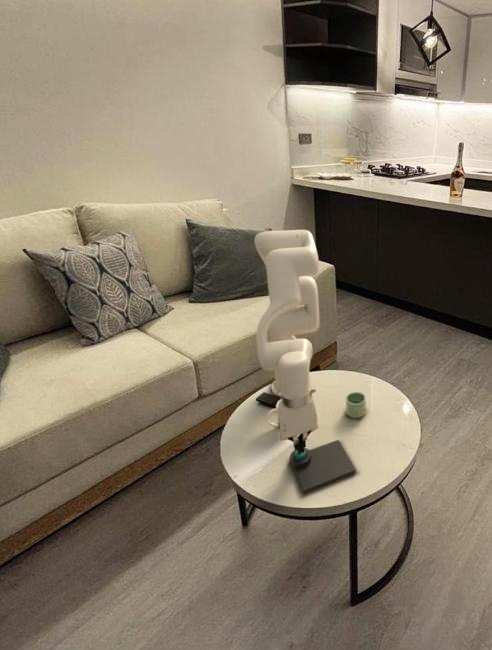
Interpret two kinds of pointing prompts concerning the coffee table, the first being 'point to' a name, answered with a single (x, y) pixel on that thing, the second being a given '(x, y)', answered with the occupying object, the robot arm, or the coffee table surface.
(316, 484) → the scale
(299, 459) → the tare button
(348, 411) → the green handleless cup
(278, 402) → the cup
